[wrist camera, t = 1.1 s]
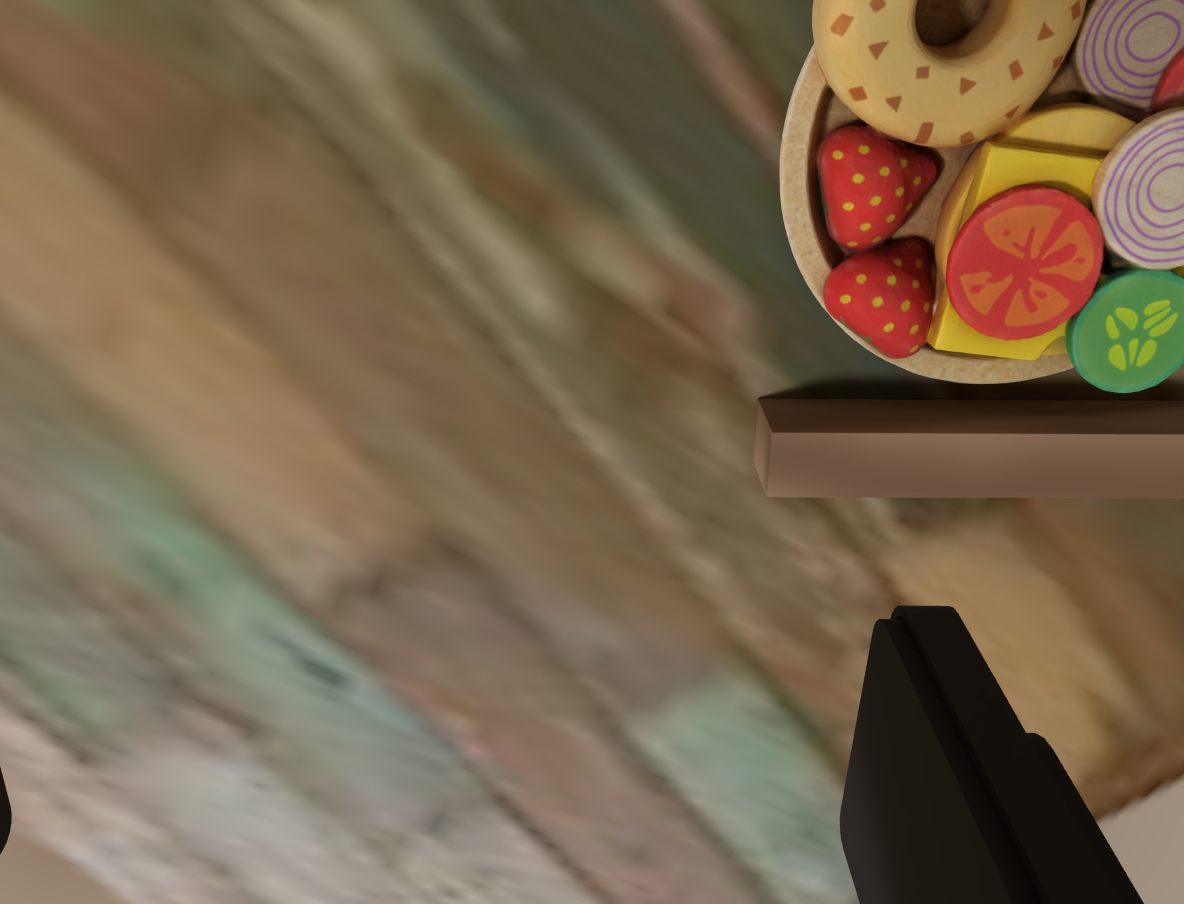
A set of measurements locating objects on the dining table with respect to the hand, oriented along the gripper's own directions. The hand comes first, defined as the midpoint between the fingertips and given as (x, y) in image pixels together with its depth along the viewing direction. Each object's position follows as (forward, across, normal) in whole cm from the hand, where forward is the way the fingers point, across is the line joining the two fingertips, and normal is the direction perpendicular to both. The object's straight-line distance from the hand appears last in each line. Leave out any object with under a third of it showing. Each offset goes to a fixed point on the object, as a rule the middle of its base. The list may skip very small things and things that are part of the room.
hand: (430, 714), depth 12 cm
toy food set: (+22, -14, -2) cm, 26 cm away
